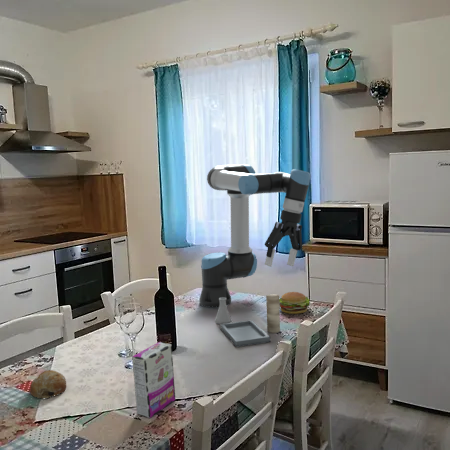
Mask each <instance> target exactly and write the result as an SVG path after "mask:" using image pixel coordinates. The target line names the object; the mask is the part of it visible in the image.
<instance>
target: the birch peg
mask: <svg viewBox="0 0 450 450" xmlns="http://www.w3.org/2000/svg"><path fill="white" fill-rule="evenodd" d="M265 299H266V300H265V302H266V304H265V305H266V333H267V332H268V333H269V334H278V333H280V332H281V313H280V311H281V307H280V306H279V299H280V295H279V294H276V293H273V294H272V293H271V294H267V295H266V297H265Z"/></svg>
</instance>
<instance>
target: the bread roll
mask: <svg viewBox="0 0 450 450" xmlns="http://www.w3.org/2000/svg"><path fill="white" fill-rule="evenodd" d="M66 389H67V380H66V377H65V376H64V375H63V374H62V373H61V372H59V371H56V370H52V369H50V370H49V369H48V370H45V371H42V372H41V373H40V374H38V376H37V377H35V378H34V379H33V380H32V382H31V384H30V391H29V392H30V394H31V396H32V397H34V398H36V397H37V398H36V399H40V398H41V399H43V398H47V399H50V398H49V397H51V396H54V395H56V396H58V395H57V394H60V393H62V392H63V393H64V392H65V391H66ZM63 393H62V394H63ZM60 395H61V394H60ZM54 397H55V396H54ZM51 398H52V397H51Z"/></svg>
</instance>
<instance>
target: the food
mask: <svg viewBox="0 0 450 450" xmlns="http://www.w3.org/2000/svg"><path fill="white" fill-rule="evenodd" d="M279 306H280V311H281V312H282V313H284V314H290V315H297V314H304V313H305V312H307V311H308V307H309V306H310V298H309V296H306V295H305V294H303V293H301V292H298V291H289V292H285V293H284V294H282V295H281V297H279Z"/></svg>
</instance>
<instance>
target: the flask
mask: <svg viewBox="0 0 450 450" xmlns="http://www.w3.org/2000/svg"><path fill="white" fill-rule="evenodd" d="M219 301H220V305H219V307H218V310H217V313H216V317H215V320H214V322H215V324H218V325H221V324H225V323H233V320H232V318H231V315H230V312H229V309H228V307H227V306H228V305H227V306H226V298H219Z"/></svg>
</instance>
